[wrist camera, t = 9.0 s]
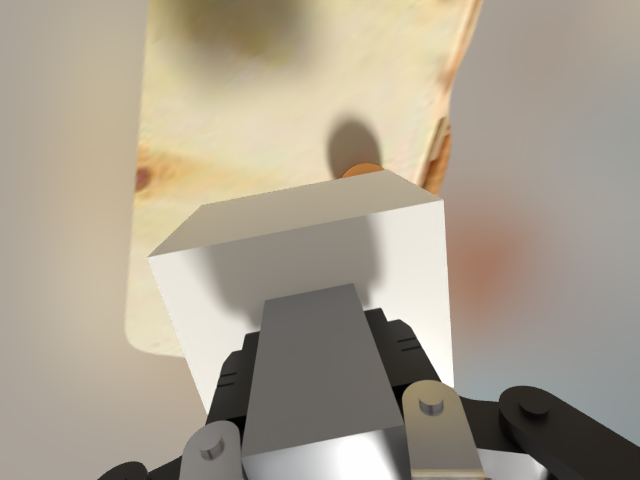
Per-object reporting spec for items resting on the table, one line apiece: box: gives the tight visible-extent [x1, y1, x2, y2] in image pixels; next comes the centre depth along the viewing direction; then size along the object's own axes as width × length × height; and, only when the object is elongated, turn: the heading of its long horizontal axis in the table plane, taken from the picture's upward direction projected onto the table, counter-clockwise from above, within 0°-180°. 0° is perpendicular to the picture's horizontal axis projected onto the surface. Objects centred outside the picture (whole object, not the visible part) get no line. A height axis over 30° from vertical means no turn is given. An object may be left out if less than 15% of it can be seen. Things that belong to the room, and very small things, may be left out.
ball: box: [342, 163, 385, 178], centre depth 30 cm, size 5×5×5 cm
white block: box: [147, 169, 454, 480], centre depth 13 cm, size 8×10×13 cm
